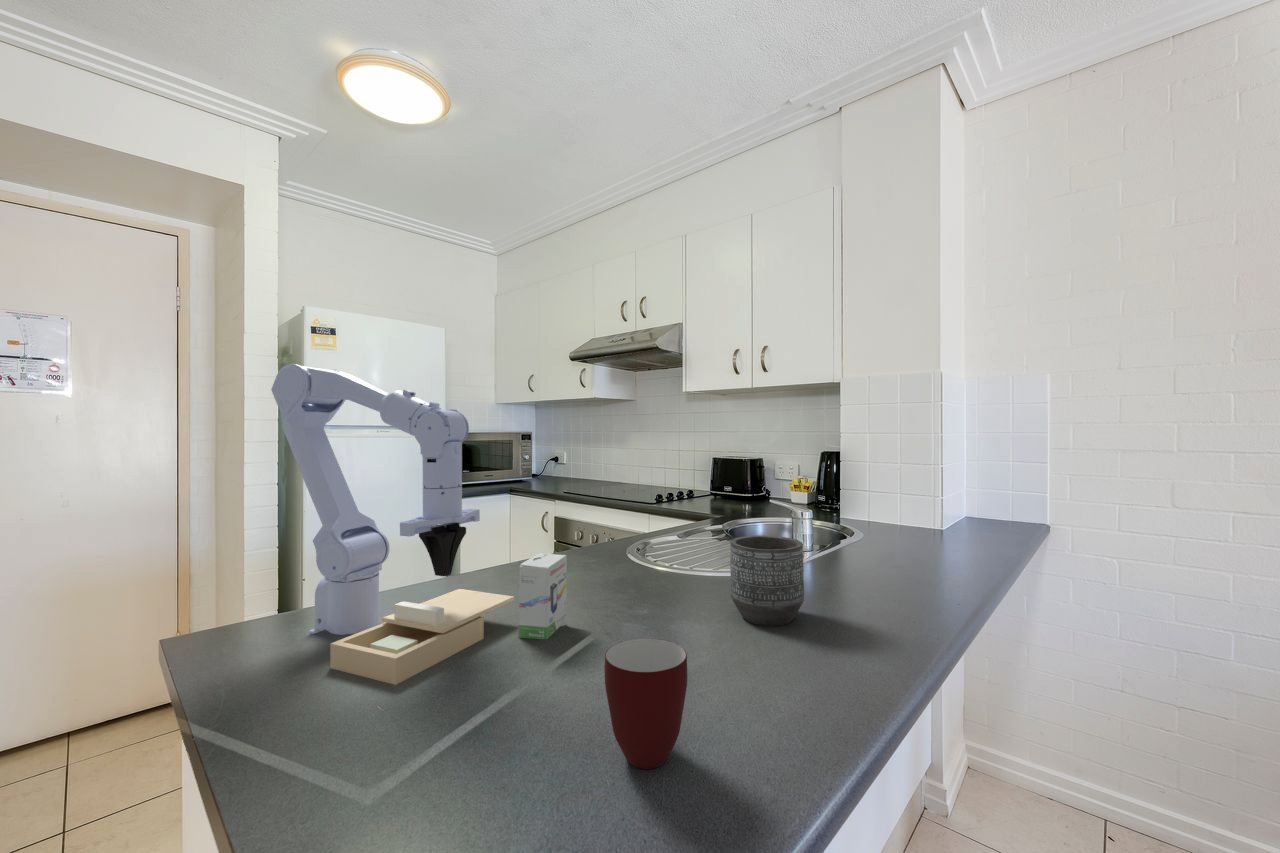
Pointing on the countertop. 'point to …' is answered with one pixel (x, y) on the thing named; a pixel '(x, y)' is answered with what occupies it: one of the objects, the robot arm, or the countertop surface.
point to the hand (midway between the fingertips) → (443, 574)
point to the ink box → (542, 595)
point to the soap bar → (393, 644)
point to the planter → (767, 578)
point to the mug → (646, 698)
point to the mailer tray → (399, 667)
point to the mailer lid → (446, 610)
